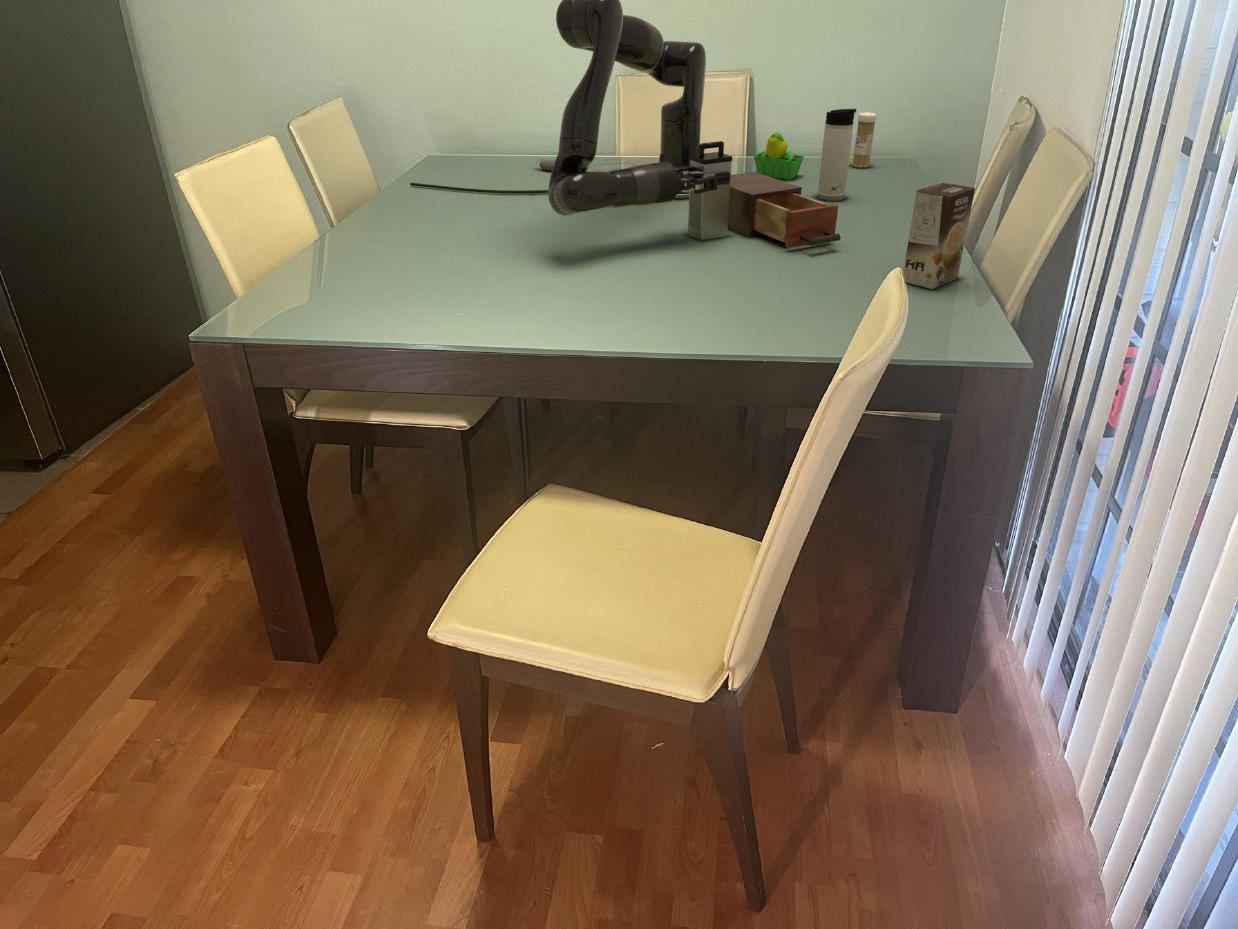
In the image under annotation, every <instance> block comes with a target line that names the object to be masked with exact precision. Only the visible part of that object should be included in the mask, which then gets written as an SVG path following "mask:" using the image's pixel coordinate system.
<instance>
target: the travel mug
mask: <svg viewBox="0 0 1238 929" xmlns="http://www.w3.org/2000/svg"><path fill="white" fill-rule="evenodd" d="M856 113H857V108H839V109H833V110H830V111H826V114H825V123H824V129H823V138H822V139H823V141H822V149H821V158H820V167H819V177H818V185H817V196H816V197H817V198H818V199H819V200H821V201H826V202H840V201H842V200H844V199H845V195H846V188H847V179H848V171H849V165H850V164H849V163H850V156H851V148H852V139H853V132H854V131H853V130H854V119H855V114H856Z"/></svg>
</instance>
